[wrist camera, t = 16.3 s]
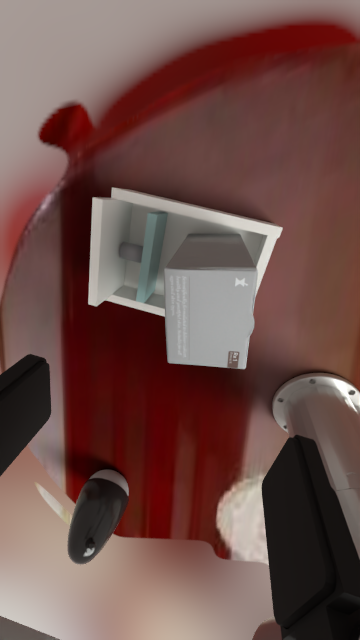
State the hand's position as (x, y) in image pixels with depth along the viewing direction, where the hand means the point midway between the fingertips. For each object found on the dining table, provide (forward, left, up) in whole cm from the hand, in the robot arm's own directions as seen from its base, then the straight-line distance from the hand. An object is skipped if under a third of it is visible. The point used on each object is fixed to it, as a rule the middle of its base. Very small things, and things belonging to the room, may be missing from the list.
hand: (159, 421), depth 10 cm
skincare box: (-1, 0, -25) cm, 25 cm away
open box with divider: (+3, 0, -26) cm, 26 cm away
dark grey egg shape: (+9, +52, -26) cm, 59 cm away
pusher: (+9, 0, -25) cm, 26 cm away
